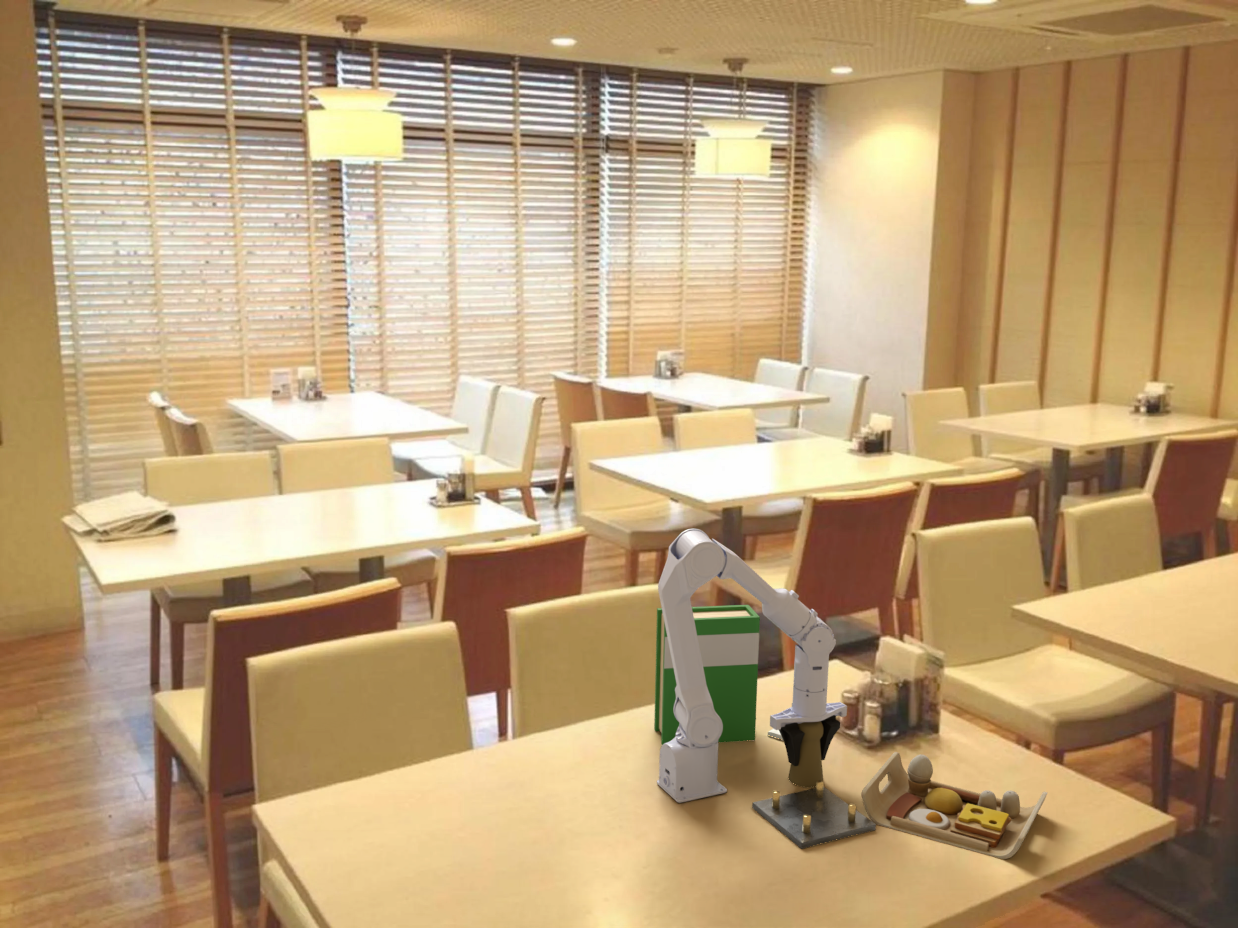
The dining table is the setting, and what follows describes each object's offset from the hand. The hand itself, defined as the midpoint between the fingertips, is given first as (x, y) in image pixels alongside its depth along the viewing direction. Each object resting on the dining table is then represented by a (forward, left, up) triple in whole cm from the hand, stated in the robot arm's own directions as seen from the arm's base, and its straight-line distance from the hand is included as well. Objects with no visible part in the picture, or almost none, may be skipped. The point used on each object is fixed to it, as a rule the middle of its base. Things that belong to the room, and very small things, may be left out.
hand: (806, 760), depth 193 cm
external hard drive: (+11, +17, -4) cm, 21 cm away
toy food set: (+14, -21, -4) cm, 26 cm away
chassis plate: (-7, -12, -3) cm, 14 cm away
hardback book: (-7, +23, -4) cm, 24 cm away
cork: (0, 0, -4) cm, 4 cm away
